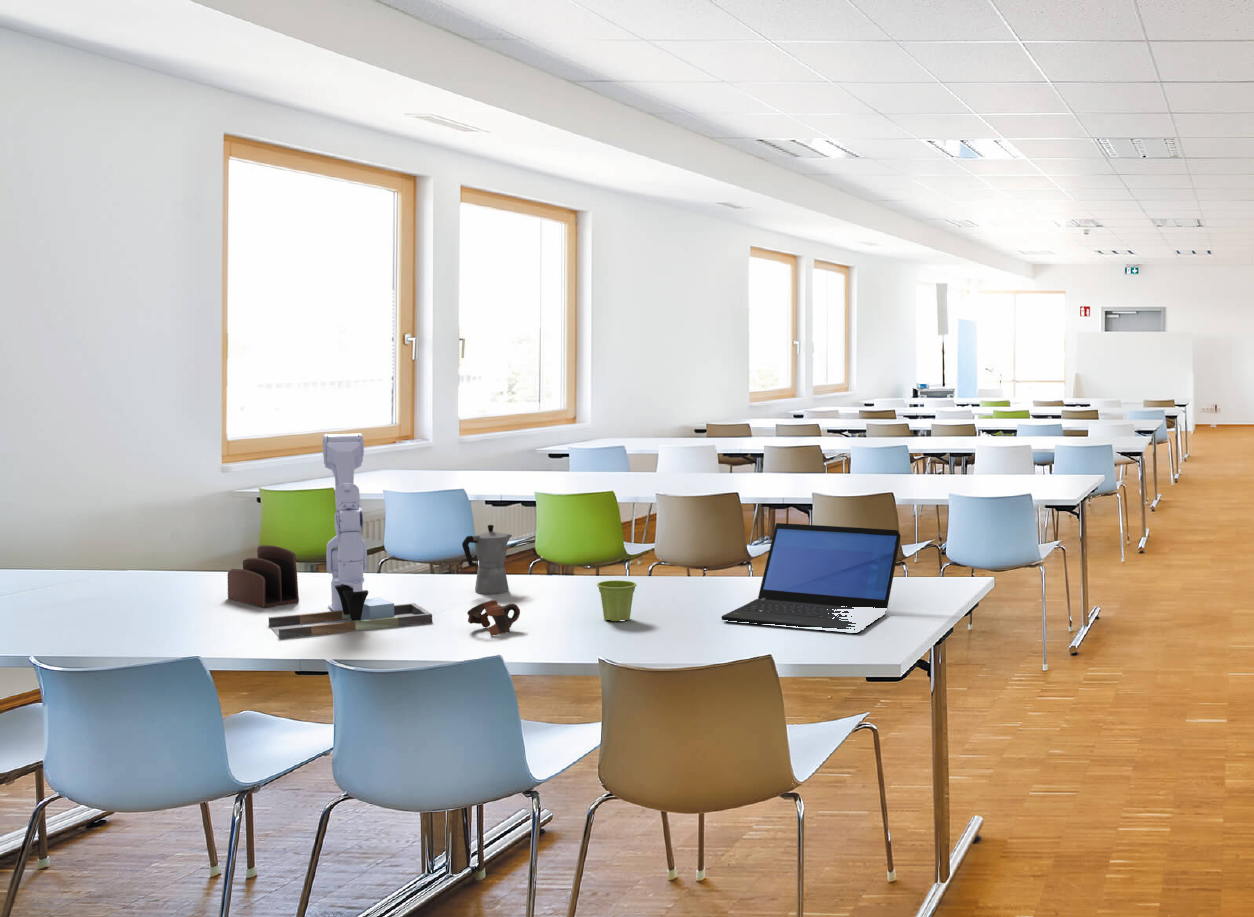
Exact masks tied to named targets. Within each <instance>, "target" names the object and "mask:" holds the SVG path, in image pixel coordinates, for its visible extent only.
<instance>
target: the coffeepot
mask: <svg viewBox="0 0 1254 917" xmlns="http://www.w3.org/2000/svg"><path fill="white" fill-rule="evenodd" d="M487 530H488V531H485V532H482V533H478V534H476V535H467V536H466V537H465V538H464V540H463V541H462V548H463V552H464V555H465V557H466V560H467V564H468V566H469V567H476V566H477V564H479V565H478V568H477V573H476V580H475V587H474V588H475V589H474V590H475V592H476V593H477V594H482V595H496V594H503V593H507V592H508V591H510V588H509V584H508V578H507V572H506V568H505V560H506V556H507V548H508V542H509V541H510V539H511V538H512V537H513V535H512V534H509V533H503V532H497V531H494V525H493V524H489V525H487ZM470 543H472V544H474V546H475V547H474V548H475V552H476V557H477V561H478V563H477V562H473V557H472V554H471V549H470V546H469V544H470Z"/></svg>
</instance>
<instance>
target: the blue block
mask: <svg viewBox="0 0 1254 917" xmlns="http://www.w3.org/2000/svg"><path fill="white" fill-rule="evenodd" d="M394 605H395V602H392V601H389V600H387V599H384V598H382V597H373V598H366V599H365V602H364V605H363V610H362V616H361V620H369V619H379V618H389V617H394ZM356 621H360V620H356Z"/></svg>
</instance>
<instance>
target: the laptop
mask: <svg viewBox="0 0 1254 917" xmlns="http://www.w3.org/2000/svg"><path fill="white" fill-rule="evenodd" d="M901 537H902V536H901V533H900V532H899V530H898V529H885V528H884V529H883V528H870V527H853V526H852V527H850V526H838V525H837V526H834V525H832V526H831V525H819V524H817V525H816V524H804V523H803V524H802V523H781V522H776V523H775V526H774V530H773V534H772V539H771V542H770V546H769V551H768V554H767V558H766V562H765V566H764V567H765V568H764V572H763V576H762V580H761V582H760V583H761V584H760V587H759V592H758V595H757V596H758V597H757V598H756V599H754V600H752V601H750V602H748V603H746V604H744V605H743V606H742V605H741V606H740V607H738V608H735V609H733V610H731V611H730V612H727V613H725V614H723V615H722V616H721V620H722V621H723V620H728V621H737V622H749V623H757V624H775V625H786V626H796V627H797V626H798V627H822V628H837V629H849V628H846V627H855V626H851V625H848V624H856V623H852V622H849V621H841V620H848V619H841V618H839V617H847V615H845V616H842V615H841V614H838V615H839V616H838V615H837V616H838V617H837V616H835V615H834V614H832V613H840V612H841V611H835V612H834V610H835V609H836V610H837V609H854V608H852V607H873V608H874V607H875V608H887V609H888V606H889V603H890V602H889V601H890V596H891V591H892V585H893V581H894V574H895V570H896V564H897V559H898V554H899V548H900V543H901ZM841 606H845V607H841ZM846 606H847V607H846ZM827 609H828V610H827ZM832 609H834V610H832ZM828 613H829V614H828ZM842 613H849V612H848V611H844V612H842ZM833 617H835V618H834V619H832V618H833ZM851 617H852V616H851ZM839 619H841V620H839ZM850 629H851V628H850ZM854 630H855V629H854Z"/></svg>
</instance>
